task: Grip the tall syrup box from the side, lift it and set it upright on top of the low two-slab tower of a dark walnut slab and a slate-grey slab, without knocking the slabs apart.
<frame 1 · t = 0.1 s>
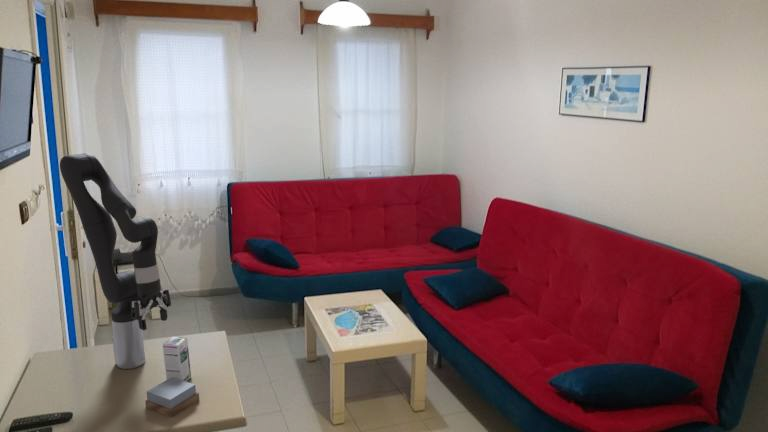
hand: (154, 324, 197), 17 cm above the table, tool pointing down, fingers open, 8 cm apart
tower top: (171, 396, 181), point 2 cm above the table, touching tower base
syrup box: (178, 381, 195), on the table
tower base: (173, 405, 182), on the table, touching tower top
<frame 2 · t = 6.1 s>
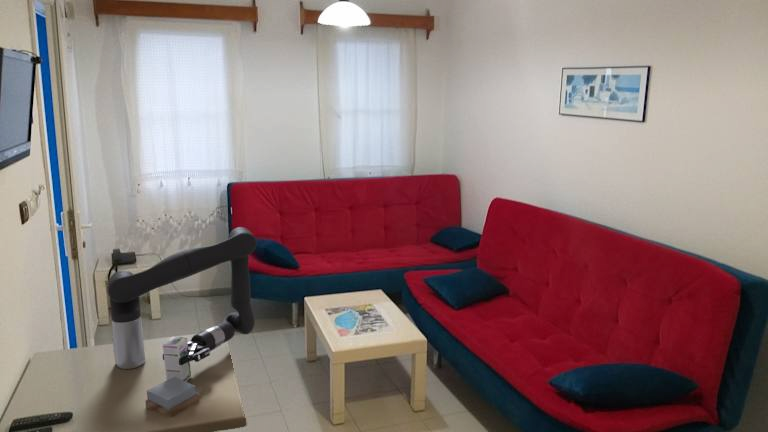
hand: (171, 360, 191), 9 cm above the table, tool horizontal, fingers closed on syrup box, 6 cm apart
syrup box: (179, 381, 195), on the table, touching gripper
everything else where it was.
when the fingers open (15 cm above the table, at t = 11.3 s): syrup box drops 1 cm, resting on tower top.
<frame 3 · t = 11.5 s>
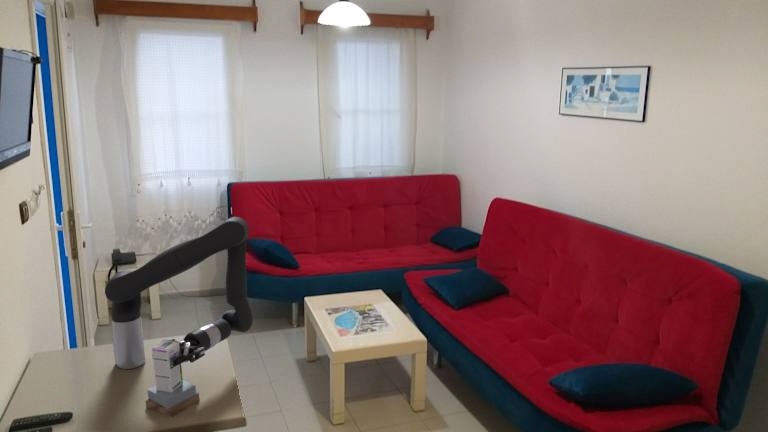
hand: (163, 360, 177), 16 cm above the table, tool horizontal, fingers open, 8 cm apart
tower top: (172, 396, 182), point 2 cm above the table, touching syrup box, tower base
syrup box: (169, 387, 181), point 5 cm above the table, touching gripper, tower top
everything else where it was.
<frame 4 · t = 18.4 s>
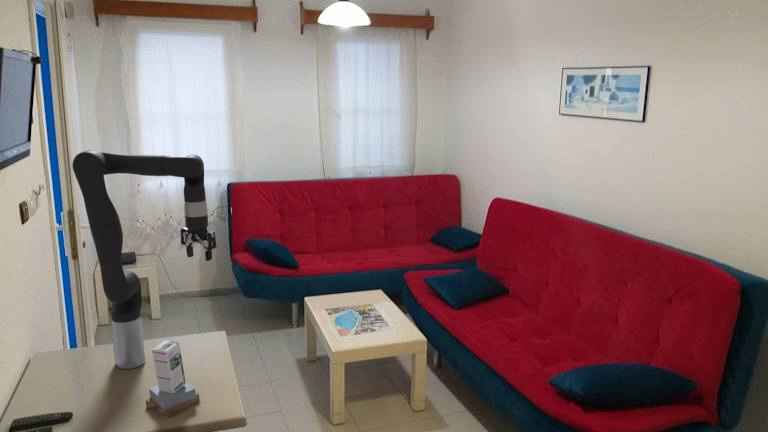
hand: (199, 258, 206), 36 cm above the table, tool pointing down, fingers open, 8 cm apart
tower top: (172, 397, 181), point 2 cm above the table, touching syrup box
syrup box: (172, 388, 181), point 5 cm above the table, touching tower top
tower base: (173, 405, 182), on the table
at the end: syrup box 0.4 cm off-centre on the tower base, point 6.2 cm above the tower base's base; syrup box tilted 6°; tower top moved 0.9 cm from its start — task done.
